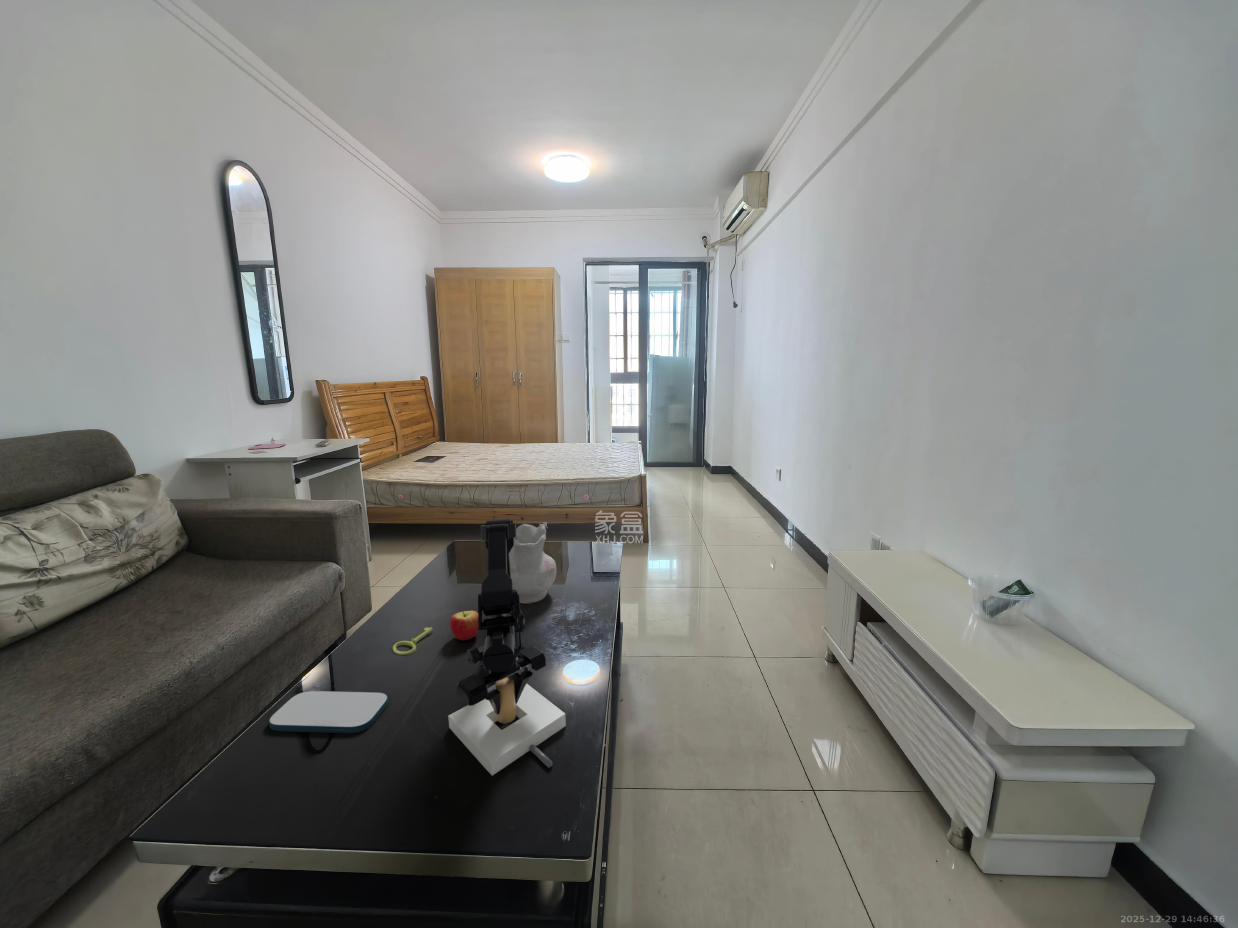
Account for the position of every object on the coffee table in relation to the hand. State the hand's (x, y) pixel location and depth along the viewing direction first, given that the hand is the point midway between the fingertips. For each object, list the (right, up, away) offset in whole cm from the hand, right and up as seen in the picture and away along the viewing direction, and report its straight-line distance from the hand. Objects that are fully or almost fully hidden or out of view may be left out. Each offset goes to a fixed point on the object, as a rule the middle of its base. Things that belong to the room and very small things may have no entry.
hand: (506, 708), depth 102 cm
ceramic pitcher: (-7, +7, +61) cm, 61 cm away
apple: (-20, +2, +36) cm, 42 cm away
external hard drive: (-42, -5, +6) cm, 42 cm away
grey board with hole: (+2, -5, -1) cm, 6 cm away
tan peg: (0, -2, 0) cm, 2 cm away
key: (-35, +1, +34) cm, 49 cm away
